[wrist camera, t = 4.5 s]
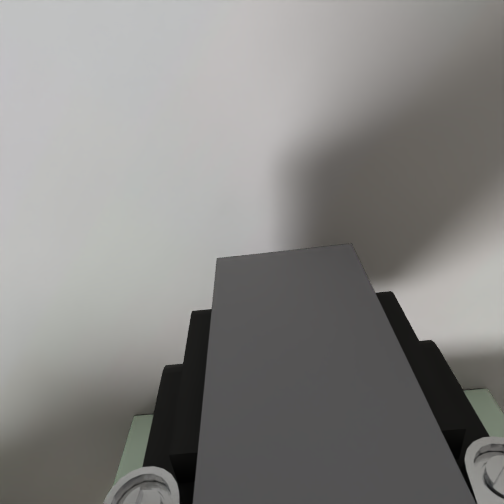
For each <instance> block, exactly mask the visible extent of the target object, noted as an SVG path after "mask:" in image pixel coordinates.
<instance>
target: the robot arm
mask: <svg viewBox="0 0 504 504" xmlns="http://www.w3.org/2000/svg"><path fill="white" fill-rule="evenodd" d="M376 295H377V298H378V300H379V302H380V304H381V306H382V308H383V310H384V312H385V314H386V316H387V319H388V321H389V323H390V325H391V327H392V329H393V331H394V333H395V335H396V337H397V339H398V342H399V344H400V346H401V348H402V350H403V352H404V354H405V356H406V358H407V360H408V362H409V365H410V367H411V369H412V371H413V373H414V375H415V377H416V379H417V381H418V383H419V385H420V388H421V390H422V392H423V394H424V396H425V398H426V400H427V402H428V404H429V406H430V408H431V411H432V413H433V415H434V417H435V419H436V421H437V423H438V425H439V427H440V429H441V432H442V434H443V436H444V438H445V440H446V442H447V444H448V446H449V448H450V450H451V452H452V455H453V457H454V459H455V461H456V463H457V465H458V467H459V469H460V471H461V473H462V475H463V478H464V480H465V482H466V484H467V486H468V488H469V490H470V492H471V494H472V496H473V498H474V501H475V503H476V504H504V438H502V437H496V436H492V437H490V436H489V434H488V432H487V431H486V429H485V427H484V425H483V424H482V422H481V420H480V419H479V417H478V415H477V413H476V412H475V410H474V408H473V407H472V405H471V403H470V401H469V400H468V398H467V396H466V395H465V393H464V391H463V389H462V388H461V386H460V384H459V383H458V381H457V379H456V377H455V376H454V374H453V372H452V371H451V369H450V367H449V365H448V364H447V362H446V360H445V359H444V357H443V355H442V353H441V352H440V350H439V348H438V347H437V345H436V344H435V343H434V342H433V341H432V340H427V341H419V340H418V338H417V336H416V334H415V332H414V331H413V329H412V327H411V325H410V323H409V321H408V319H407V318H406V316H405V314H404V312H403V310H402V308H401V306H400V304H399V303H398V301H397V299H396V297H395V295H394V294H393V292H391V291H389V292H379V293H376ZM211 312H212V309H208V310H198V311H192V313H191V319H190V325H189V331H188V337H187V343H186V350H185V356H184V362H183V364H176V365H166V366H165V367H164V370H163V373H162V377H161V382H160V387H159V391H158V396H157V401H156V405H155V410H154V415H153V419H152V424H151V429H150V433H149V438H148V443H147V447H146V452H145V457H144V461H143V466H142V468H139V469H136V470H133V471H131V472H129V473H128V474H126V475H125V476H123V477H122V478H120V479H119V480H118V482H117V483H116V484H115V485H114V486H113V487H112V488H111V489H110V491H109V493H108V494H107V496H106V498H105V499H104V503H103V504H193V496H194V486H195V476H196V465H197V455H198V445H199V435H200V425H201V414H202V404H203V394H204V384H205V374H206V363H207V353H208V343H209V333H210V323H211Z"/></svg>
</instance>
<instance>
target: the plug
mask: <svg viewBox="0 0 504 504" xmlns="http://www.w3.org/2000/svg"><path fill="white" fill-rule="evenodd" d="M193 504H476V503H475V501H474V498H473V496H472V494H471V492H470V490H469V488H468V486H467V484H466V482H465V480H464V478H463V475H462V473H461V471H460V469H459V467H458V465H457V463H456V461H455V459H454V457H453V455H452V452H451V450H450V448H449V446H448V444H447V442H446V440H445V438H444V436H443V434H442V432H441V429H440V427H439V425H438V423H437V421H436V419H435V417H434V415H433V413H432V411H431V408H430V406H429V404H428V402H427V400H426V398H425V396H424V394H423V392H422V390H421V388H420V385H419V383H418V381H417V379H416V377H415V375H414V373H413V371H412V369H411V367H410V365H409V362H408V360H407V358H406V356H405V354H404V352H403V350H402V348H401V346H400V344H399V342H398V339H397V337H396V335H395V333H394V331H393V329H392V327H391V325H390V323H389V321H388V319H387V316H386V314H385V312H384V310H383V308H382V306H381V304H380V302H379V300H378V298H377V295H376V293H375V291H374V289H373V287H372V285H371V283H370V281H369V279H368V277H367V275H366V272H365V270H364V268H363V266H362V264H361V262H360V260H359V258H358V256H357V254H356V252H355V249H354V247H353V245H352V243H351V244H342V245H333V246H324V247H315V248H306V249H297V250H288V251H279V252H270V253H260V254H251V255H242V256H233V257H224V258H217V261H216V272H215V282H214V292H213V302H212V312H211V323H210V333H209V343H208V353H207V363H206V374H205V384H204V394H203V404H202V414H201V425H200V435H199V445H198V455H197V465H196V476H195V486H194V496H193Z"/></svg>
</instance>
